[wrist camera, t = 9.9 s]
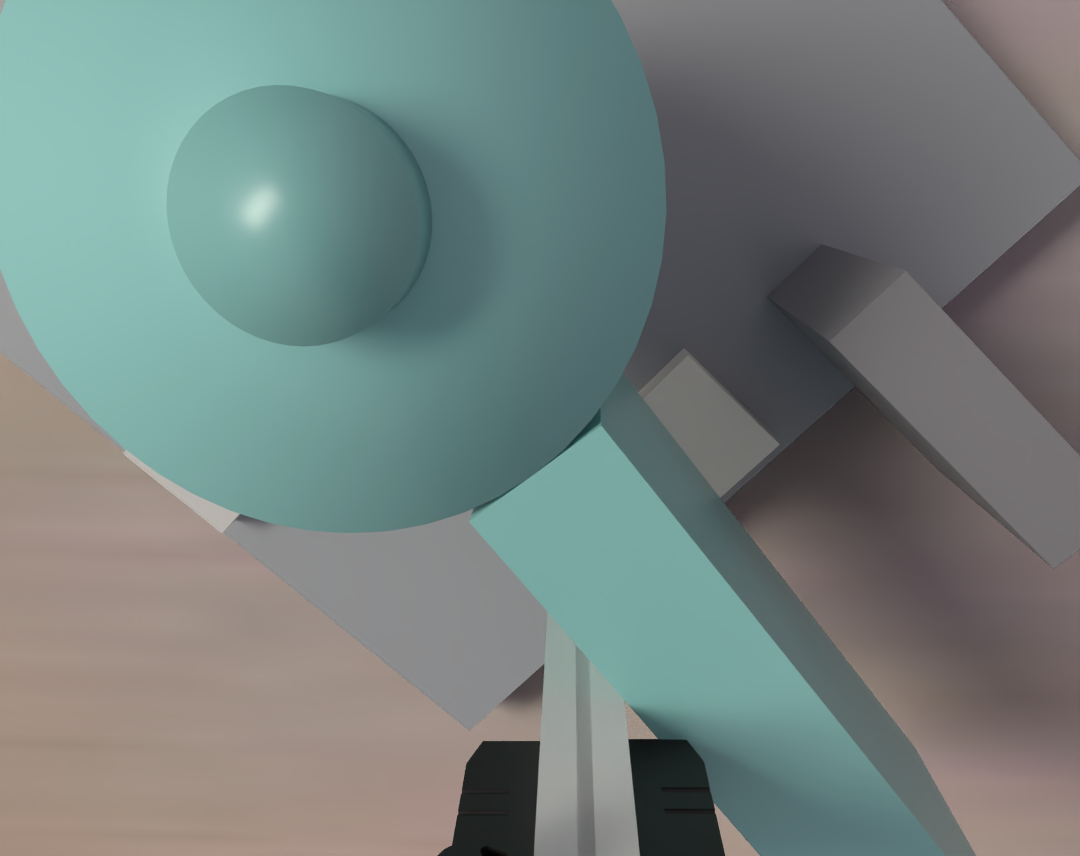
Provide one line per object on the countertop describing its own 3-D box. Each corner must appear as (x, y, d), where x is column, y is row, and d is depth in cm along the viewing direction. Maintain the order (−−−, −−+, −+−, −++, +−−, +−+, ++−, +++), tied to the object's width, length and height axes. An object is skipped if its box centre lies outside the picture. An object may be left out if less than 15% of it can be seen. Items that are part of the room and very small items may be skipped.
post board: (388, -588, 15) (252, -1105, 9) (1132, 265, 19) (1393, 311, 13) (-114, 214, 20) (-419, 234, 14) (551, 758, 24) (538, 959, 18)
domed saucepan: (98, 162, 16) (-233, 158, 10) (435, -174, 14) (303, -470, 8) (716, 857, 21) (775, 1177, 14) (1042, 677, 19) (1290, 954, 12)
